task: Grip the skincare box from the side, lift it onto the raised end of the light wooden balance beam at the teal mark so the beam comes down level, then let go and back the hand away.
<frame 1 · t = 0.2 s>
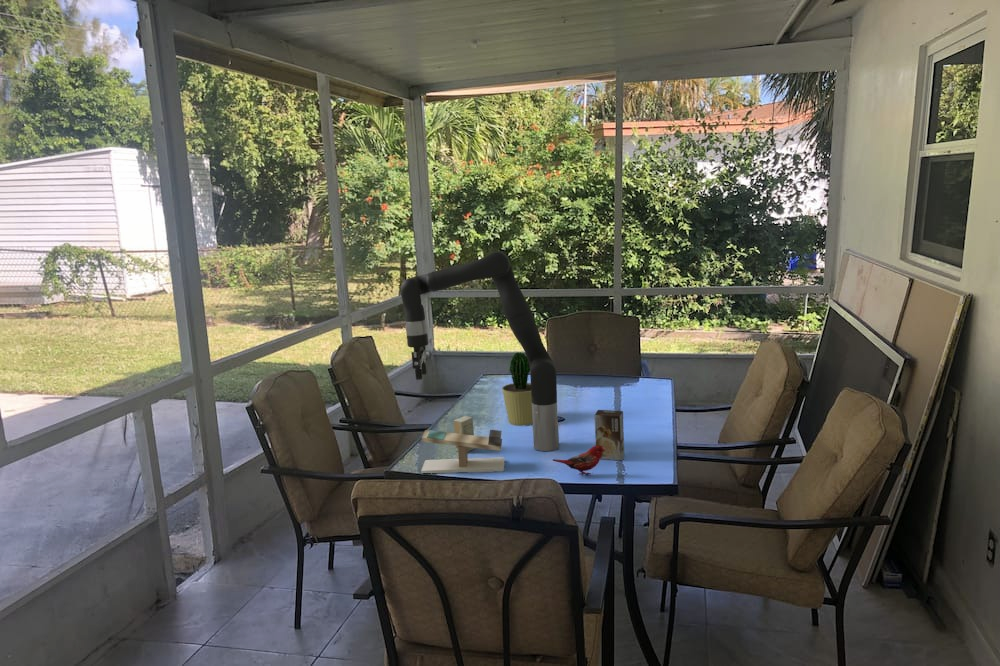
hand: (421, 376, 244), 29 cm above the table, tool pointing down, fingers open, 8 cm apart
decorative bird figurine: (579, 476, 219), on the table
potted cactus: (522, 422, 279), on the table
balance beam: (462, 436, 230), point 11 cm above the table, hinge at 9.0°
skincare box: (465, 450, 248), on the table
coffee box: (610, 457, 234), on the table
beam stand: (463, 467, 232), on the table
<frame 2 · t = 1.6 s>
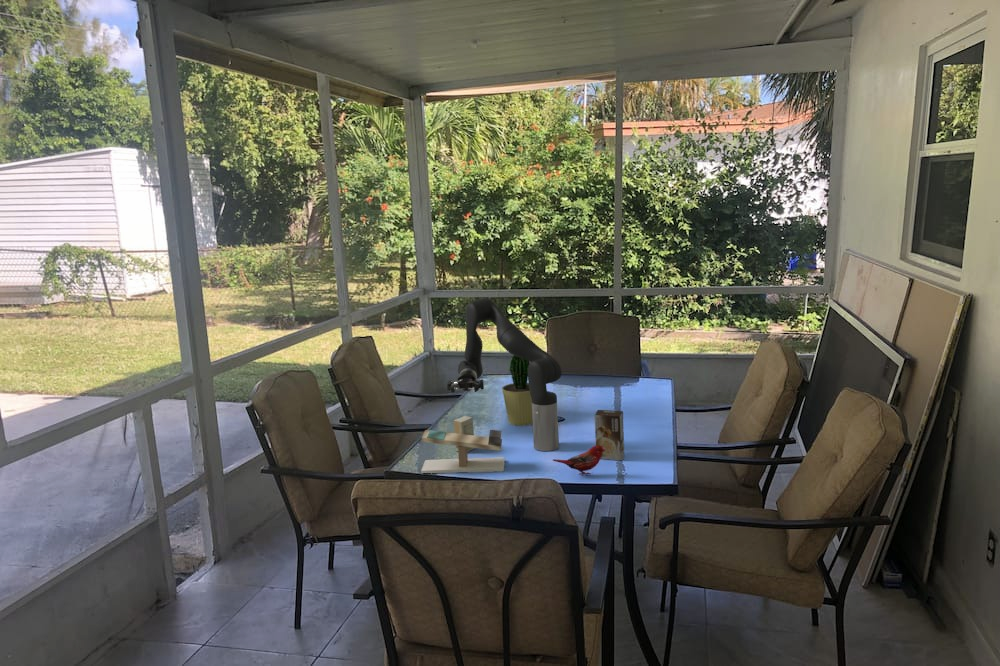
hand: (464, 389, 256), 20 cm above the table, tool horizontal, fingers open, 8 cm apart
nothing on the table moved.
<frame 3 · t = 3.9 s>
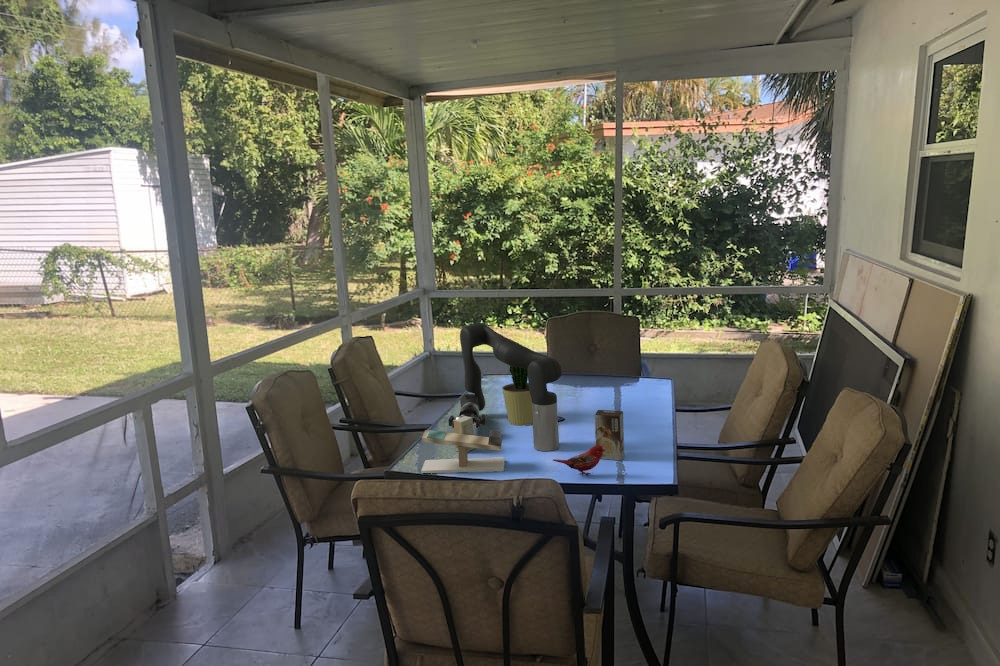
hand: (465, 426, 253), 7 cm above the table, tool horizontal, fingers open, 8 cm apart
nothing on the table moved.
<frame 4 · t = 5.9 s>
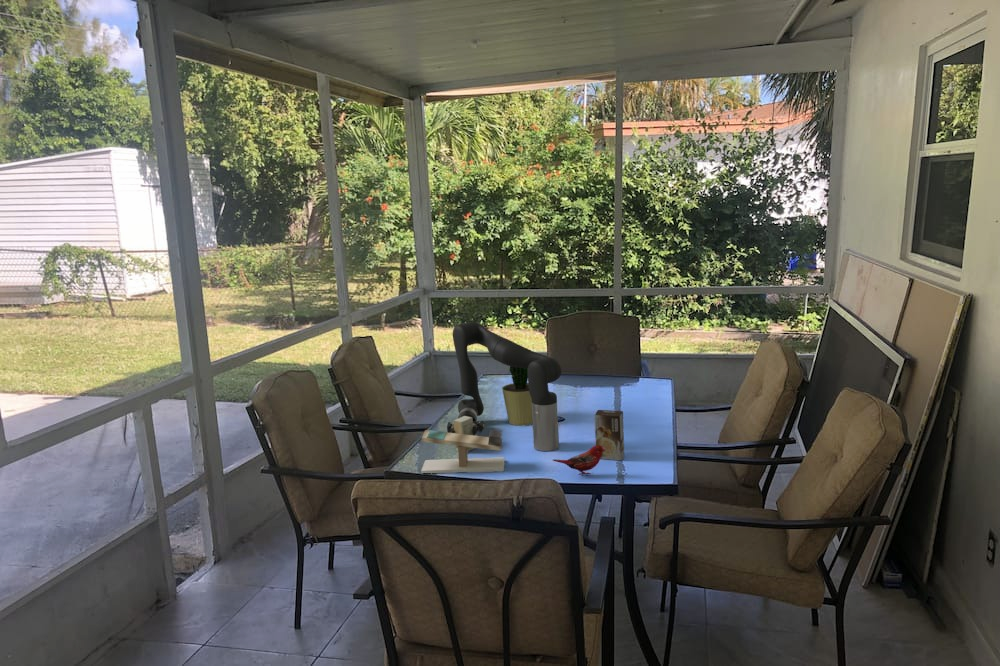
hand: (463, 433, 245), 7 cm above the table, tool horizontal, fingers closed on skincare box, 7 cm apart
skincare box: (465, 450, 248), on the table, touching gripper
everything else where it was.
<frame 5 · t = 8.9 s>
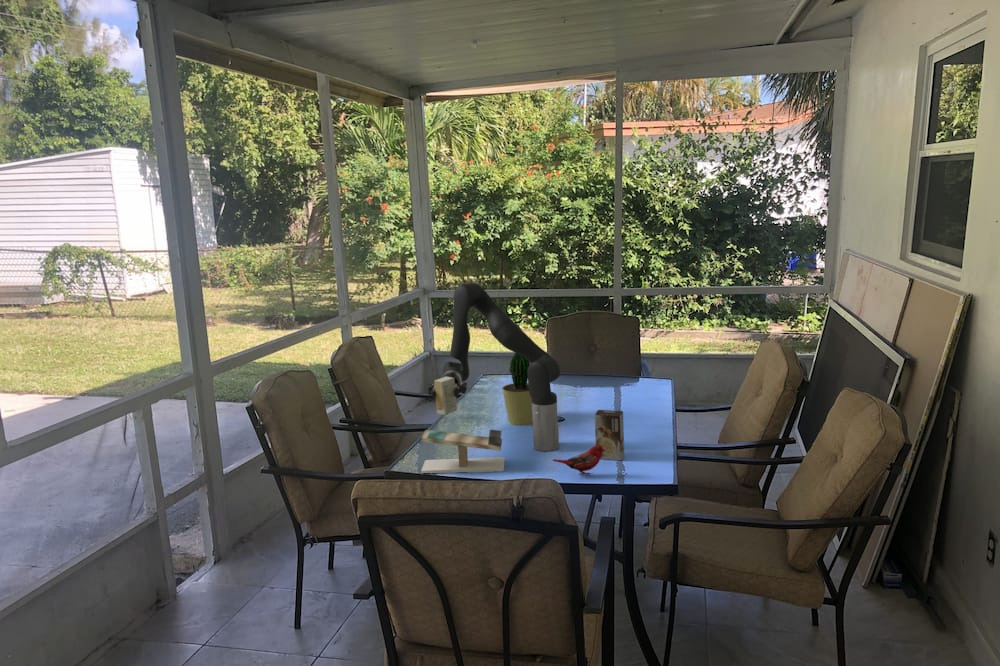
hand: (444, 394, 233), 25 cm above the table, tool horizontal, fingers closed on skincare box, 7 cm apart
skincare box: (446, 412, 237), point 17 cm above the table, touching gripper
everything else where it was.
when the fingers open (18 cm above the table, at t = 11.9 s): skincare box stays where it is, resting on balance beam.
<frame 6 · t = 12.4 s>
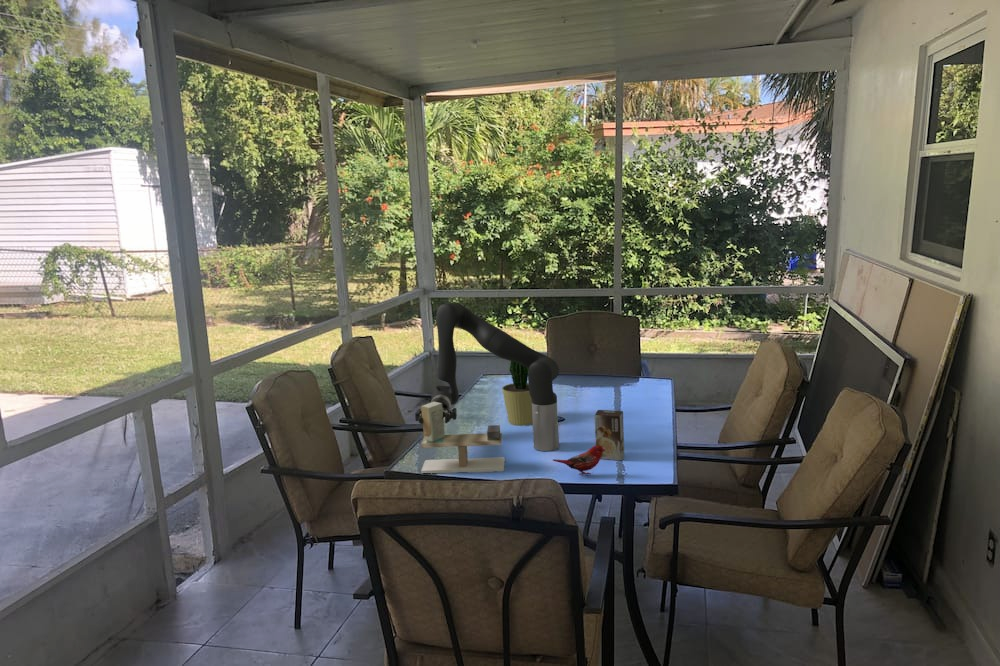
hand: (433, 420, 227), 18 cm above the table, tool horizontal, fingers open, 8 cm apart
balance beam: (461, 436, 230), point 11 cm above the table, hinge at 0.0°, touching skincare box
skincare box: (434, 439, 230), point 10 cm above the table, touching balance beam
everything else where it was.
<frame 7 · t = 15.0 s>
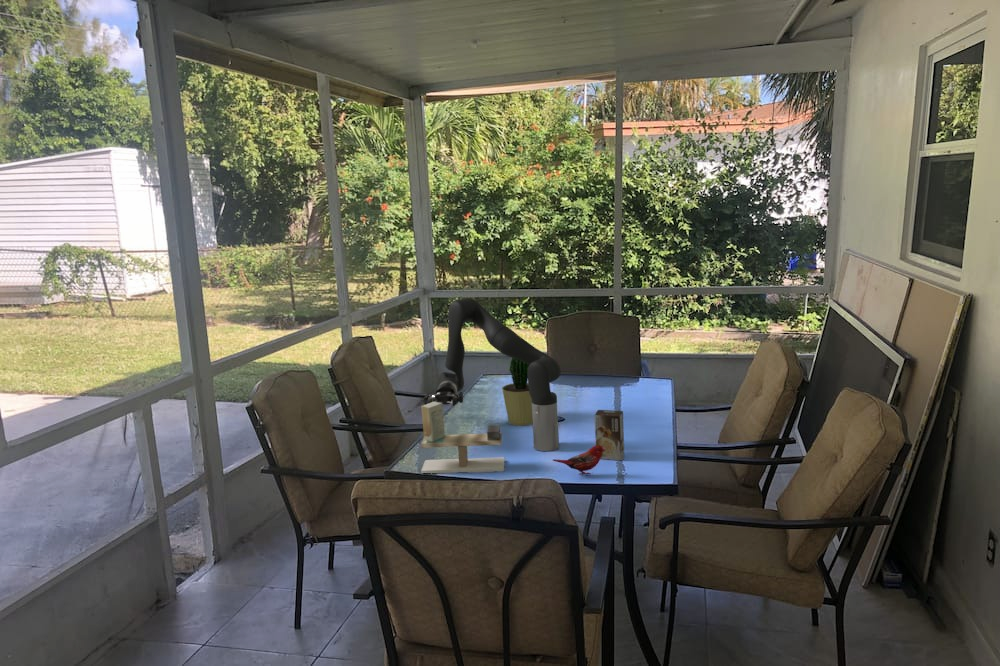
hand: (441, 403, 241), 19 cm above the table, tool horizontal, fingers open, 8 cm apart
nothing on the table moved.
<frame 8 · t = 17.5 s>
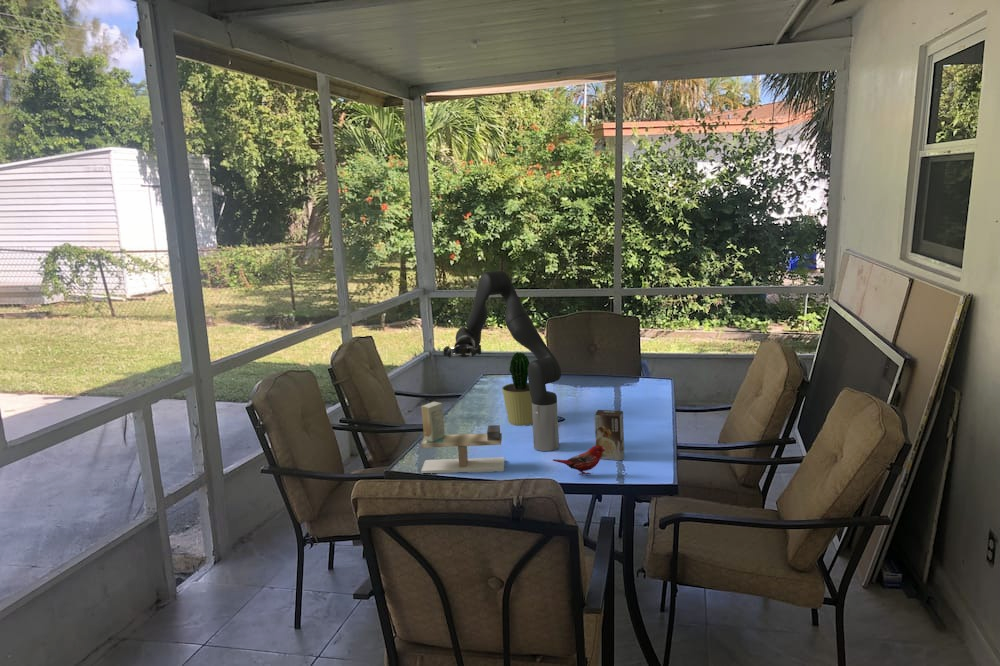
hand: (461, 354, 248), 35 cm above the table, tool horizontal, fingers open, 8 cm apart
nothing on the table moved.
at the end: balance beam at +0° (first picture: +9°); skincare box inside the target area on the balance beam (0.9 cm from its centre), point 1.5 cm above the balance beam's base; skincare box tilted 0° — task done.
